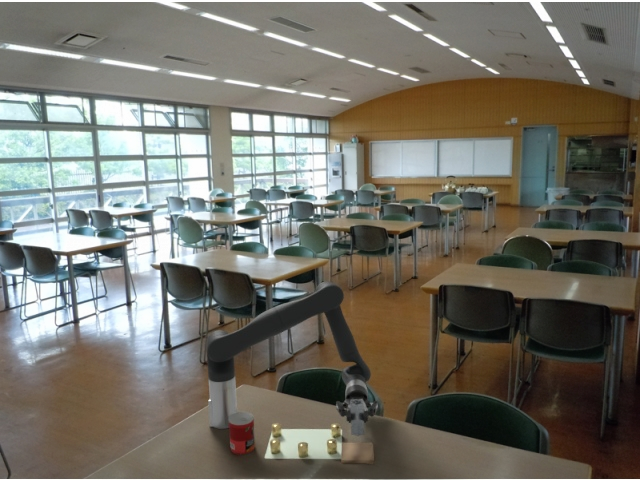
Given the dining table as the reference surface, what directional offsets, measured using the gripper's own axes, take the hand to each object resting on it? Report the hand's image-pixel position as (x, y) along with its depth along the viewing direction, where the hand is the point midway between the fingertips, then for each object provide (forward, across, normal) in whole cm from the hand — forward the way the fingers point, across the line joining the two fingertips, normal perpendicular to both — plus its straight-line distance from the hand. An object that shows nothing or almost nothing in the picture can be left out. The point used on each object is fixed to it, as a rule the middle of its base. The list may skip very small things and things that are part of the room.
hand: (357, 420), depth 161 cm
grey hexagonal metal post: (-3, 0, +6) cm, 6 cm away
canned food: (-6, -37, +13) cm, 40 cm away
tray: (-3, 0, +13) cm, 13 cm away
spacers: (-8, -17, +13) cm, 23 cm away
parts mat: (-9, -17, +13) cm, 23 cm away
